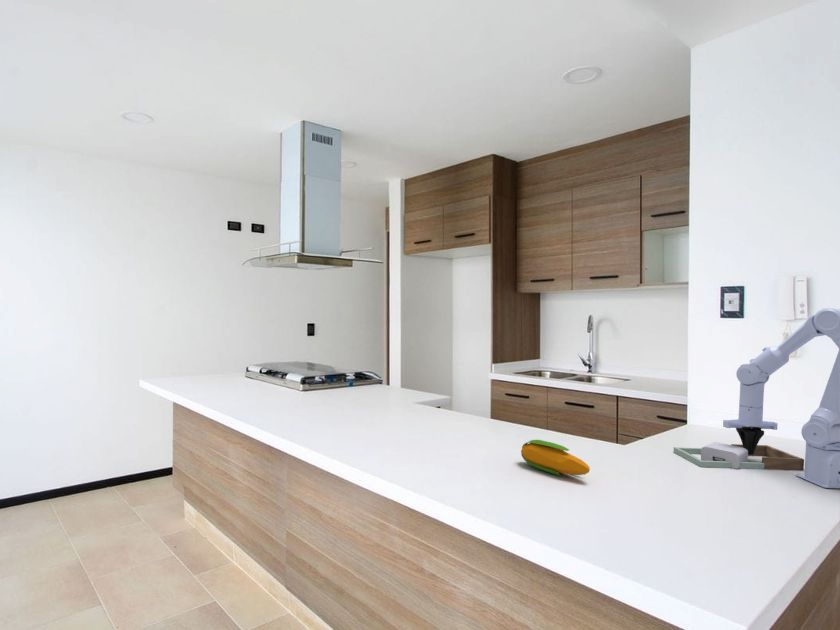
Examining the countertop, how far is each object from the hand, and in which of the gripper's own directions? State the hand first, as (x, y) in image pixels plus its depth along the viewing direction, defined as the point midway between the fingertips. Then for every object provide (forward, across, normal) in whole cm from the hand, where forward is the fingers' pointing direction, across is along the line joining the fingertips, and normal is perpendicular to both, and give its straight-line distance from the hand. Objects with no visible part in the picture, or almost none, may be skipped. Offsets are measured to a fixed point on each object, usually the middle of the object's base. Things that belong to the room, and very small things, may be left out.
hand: (748, 453), depth 144 cm
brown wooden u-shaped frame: (+2, -5, 0) cm, 5 cm away
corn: (+3, +60, +15) cm, 62 cm away
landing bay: (+2, +9, 0) cm, 9 cm away
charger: (+3, +6, 0) cm, 7 cm away
